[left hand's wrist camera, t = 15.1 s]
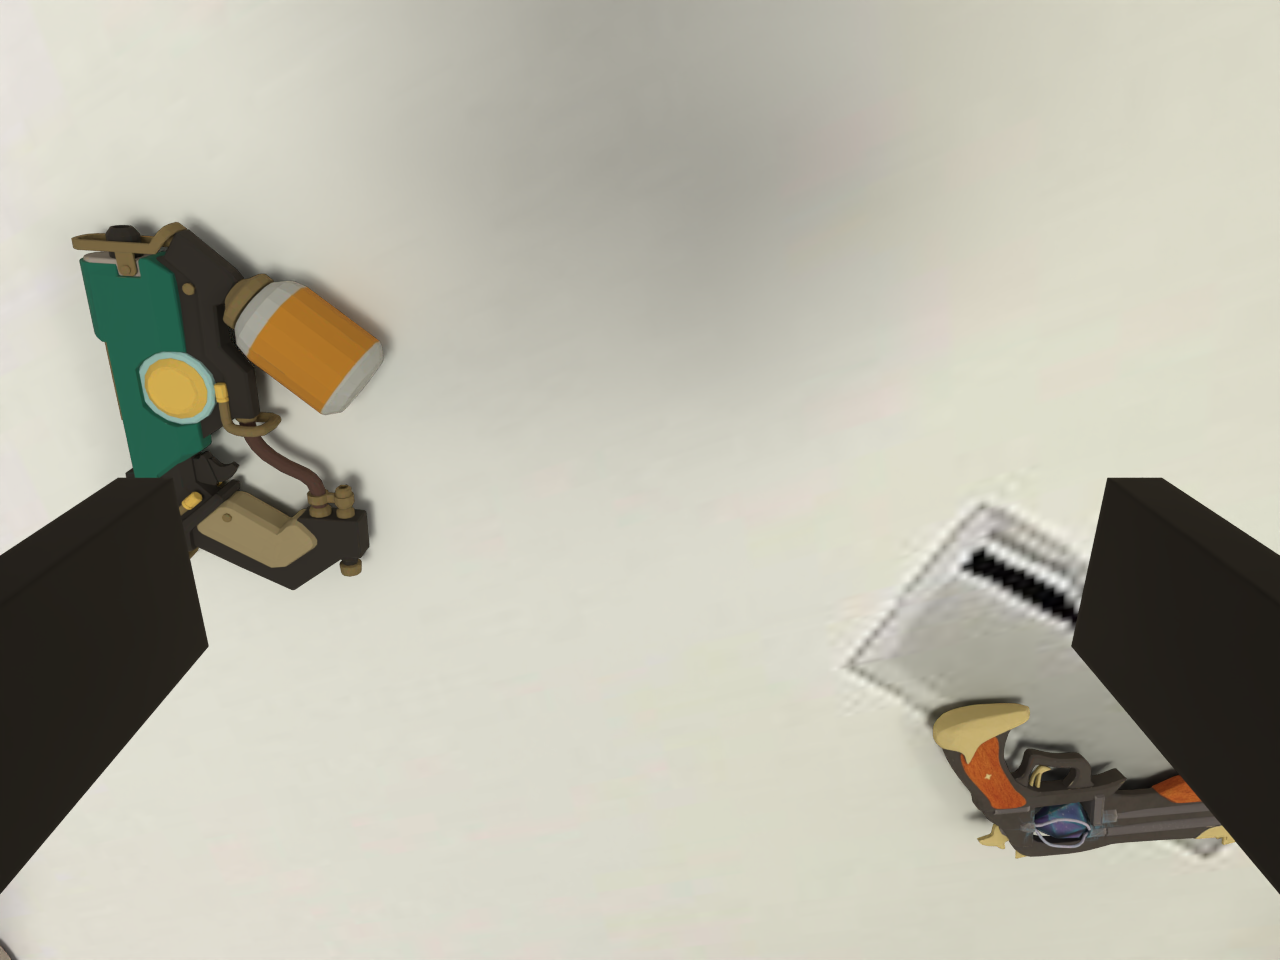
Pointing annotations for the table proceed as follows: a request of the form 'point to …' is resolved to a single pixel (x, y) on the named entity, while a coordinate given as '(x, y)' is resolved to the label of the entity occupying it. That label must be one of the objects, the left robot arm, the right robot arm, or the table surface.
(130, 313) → the spray gun
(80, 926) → the table surface
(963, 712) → the toy gun
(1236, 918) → the table surface
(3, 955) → the bust sculpture
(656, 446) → the table surface
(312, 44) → the table surface
